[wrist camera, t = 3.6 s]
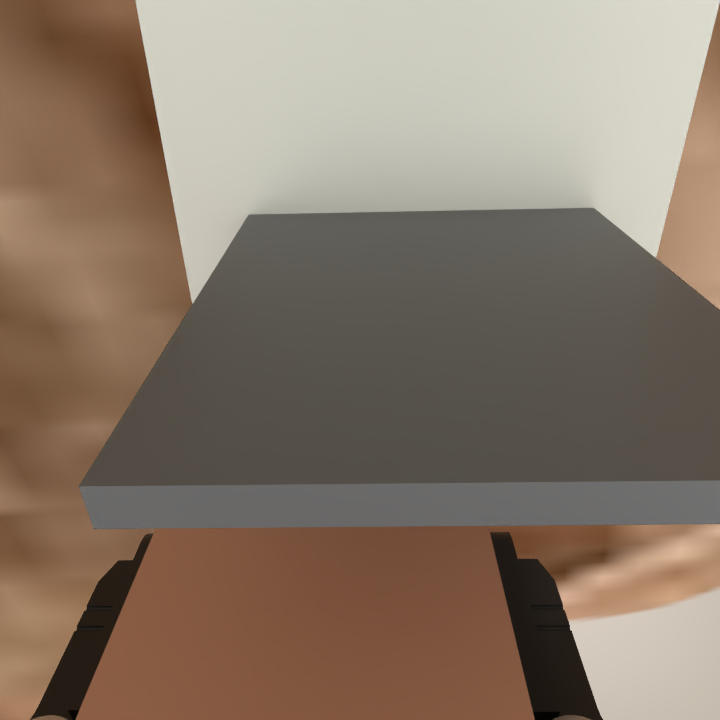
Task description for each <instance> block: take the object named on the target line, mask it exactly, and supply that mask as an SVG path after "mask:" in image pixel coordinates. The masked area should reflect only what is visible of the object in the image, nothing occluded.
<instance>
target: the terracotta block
mask: <svg viewBox="0 0 720 720" xmlns="http://www.w3.org/2000/svg"><path fill="white" fill-rule="evenodd" d="M76 720H535V719H534V714H533V710H532V706H531V702H530V698H529V694H528V689H527V685H526V681H525V677H524V673H523V669H522V664H521V660H520V656H519V652H518V648H517V644H516V639H515V635H514V631H513V627H512V623H511V619H510V614H509V610H508V606H507V602H506V598H505V594H504V589H503V585H502V581H501V577H500V573H499V569H498V564H497V560H496V556H495V552H494V548H493V544H492V539H491V535H490V531H489V527H488V526H404V527H277V528H156V529H155V531H154V534H153V536H152V538H151V541H150V543H149V546H148V548H147V550H146V553H145V555H144V558H143V560H142V562H141V565H140V567H139V569H138V572H137V574H136V577H135V579H134V581H133V584H132V586H131V588H130V591H129V593H128V596H127V598H126V600H125V603H124V605H123V608H122V610H121V612H120V615H119V617H118V619H117V622H116V624H115V627H114V629H113V631H112V634H111V636H110V639H109V641H108V643H107V646H106V648H105V650H104V653H103V655H102V658H101V660H100V662H99V665H98V667H97V669H96V672H95V674H94V677H93V679H92V681H91V684H90V686H89V689H88V691H87V693H86V696H85V698H84V700H83V703H82V705H81V708H80V710H79V712H78V715H77V717H76Z"/></svg>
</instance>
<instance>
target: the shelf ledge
mask: <svg viewBox="0 0 720 720" xmlns="http://www.w3.org/2000/svg"><path fill="white" fill-rule="evenodd" d="M135 1H136V6H137V11H138V17H139V22H140V27H141V33H142V38H143V43H144V49H145V54H146V60H147V65H148V70H149V76H150V81H151V86H152V92H153V97H154V102H155V108H156V113H157V118H158V124H159V129H160V134H161V140H162V145H163V150H164V156H165V161H166V166H167V172H168V177H169V182H170V188H171V193H172V199H173V204H174V209H175V215H176V220H177V225H178V231H179V236H180V241H181V247H182V252H183V257H184V263H185V268H186V273H187V279H188V284H189V289H190V295H191V300H192V306H191V308H190V309H189V311H188V312H187V314H186V316H185V317H184V319H183V320H182V322H181V324H180V325H179V327H178V328H177V330H176V332H175V333H174V335H173V336H172V338H171V340H170V341H169V343H168V344H167V346H166V348H165V349H164V351H163V352H162V354H161V356H160V357H159V359H158V360H157V362H156V364H155V365H154V367H153V368H152V370H151V372H150V373H149V375H148V376H147V378H146V380H145V381H144V383H143V384H142V386H141V388H140V389H139V391H138V392H137V394H136V396H135V397H134V399H133V400H132V402H131V404H130V405H129V407H128V408H127V410H126V412H125V413H124V415H123V416H122V418H121V420H120V421H119V423H118V424H117V426H116V428H115V429H114V431H113V432H112V434H111V436H110V437H109V439H108V440H107V442H106V444H105V445H104V447H103V448H102V450H101V452H100V453H99V455H98V456H97V458H96V460H95V461H94V463H93V464H92V466H91V468H90V469H89V471H88V472H87V474H86V476H85V477H84V479H83V480H82V482H81V484H80V485H79V489H80V492H81V494H82V497H83V500H84V503H85V506H86V508H87V511H88V514H89V517H90V519H91V522H92V525H93V528H94V529H150V528H277V527H404V526H531V525H658V524H720V310H719V309H718V308H717V307H715V306H714V305H713V304H712V303H710V302H709V301H708V300H707V299H705V298H704V297H703V296H702V295H701V294H699V293H698V292H697V291H696V290H694V289H693V288H692V287H691V286H689V285H688V284H687V283H686V282H685V281H683V280H682V279H681V278H680V277H678V276H677V275H676V274H675V273H673V272H672V271H671V270H670V269H669V268H667V267H666V266H665V265H664V264H662V263H661V262H660V261H659V260H657V259H656V256H657V252H658V248H659V244H660V240H661V236H662V232H663V228H664V224H665V220H666V216H667V212H668V208H669V204H670V200H671V196H672V192H673V188H674V184H675V180H676V176H677V172H678V168H679V164H680V160H681V156H682V152H683V148H684V144H685V140H686V136H687V132H688V128H689V124H690V119H691V115H692V111H693V107H694V103H695V99H696V95H697V91H698V87H699V83H700V79H701V75H702V71H703V67H704V63H705V59H706V55H707V51H708V47H709V43H710V39H711V35H712V31H713V27H714V23H715V19H716V15H717V11H718V7H719V3H720V0H135Z"/></svg>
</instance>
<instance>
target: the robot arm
mask: <svg viewBox="0 0 720 720" xmlns="http://www.w3.org/2000/svg"><path fill="white" fill-rule="evenodd" d="M490 535H491V539H492V544H493V548H494V552H495V556H496V560H497V564H498V569H499V573H500V577H501V581H502V585H503V589H504V594H505V598H506V602H507V606H508V610H509V614H510V619H511V623H512V627H513V631H514V635H515V639H516V644H517V648H518V652H519V656H520V660H521V664H522V669H523V673H524V677H525V681H526V685H527V689H528V694H529V698H530V702H531V706H532V710H533V714H534V719H535V720H603V719H602V717H601V716H600V713H599V711H598V708H597V705H596V702H595V699H594V696H593V694H592V691H591V688H590V684H589V682H588V679H587V676H586V673H585V670H584V667H583V664H582V661H581V658H580V655H579V652H578V649H577V646H576V643H575V640H574V637H573V634H572V631H570V625H569V622H568V619H567V616H566V613H565V610H563V604H562V601H561V598H560V595H559V592H558V589H557V586H556V583H555V580H554V579H553V578H552V577H551V575H550V574H549V573H548V572H547V570H546V569H545V568H544V567H543V566H542V564H541V563H540V562H539V561H538V559H517V555H516V551H515V548H514V544H513V541H512V538H511V535H510V533H509V532H490ZM152 536H153V534H147V535H145V536H144V538H143V539H142V541H141V543H140V545H139V548H138V550H137V552H136V555H135V557H134V559H133V560H120V561H118V562H117V563H116V564H115V565H114V566H113V567H112V568H111V569H110V570H109V571H108V572H107V573H106V574H105V575H104V576H103V577H102V578H101V580H100V581H99V582H98V584H97V586H96V588H95V590H94V592H93V594H92V596H91V598H90V600H89V602H88V604H87V610H86V611H84V613H83V615H82V617H81V619H80V621H79V623H78V625H77V631H74V633H73V636H72V638H71V640H70V642H69V644H68V646H67V648H66V650H65V652H64V654H63V656H62V658H61V660H60V663H59V665H58V667H57V669H56V671H55V673H54V675H53V677H52V679H51V681H50V683H49V685H48V687H47V690H46V692H45V694H44V696H43V698H42V700H41V702H40V704H39V706H38V708H37V710H36V711H35V713H34V715H33V716H32V718H31V719H30V720H76V717H77V715H78V712H79V710H80V708H81V705H82V703H83V700H84V698H85V696H86V693H87V691H88V689H89V686H90V684H91V681H92V679H93V677H94V674H95V672H96V669H97V667H98V665H99V662H100V660H101V658H102V655H103V653H104V650H105V648H106V646H107V643H108V641H109V639H110V636H111V634H112V631H113V629H114V627H115V624H116V622H117V619H118V617H119V615H120V612H121V610H122V608H123V605H124V603H125V600H126V598H127V596H128V593H129V591H130V588H131V586H132V584H133V581H134V579H135V577H136V574H137V572H138V569H139V567H140V565H141V562H142V560H143V558H144V555H145V553H146V550H147V548H148V546H149V543H150V541H151V538H152Z"/></svg>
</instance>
